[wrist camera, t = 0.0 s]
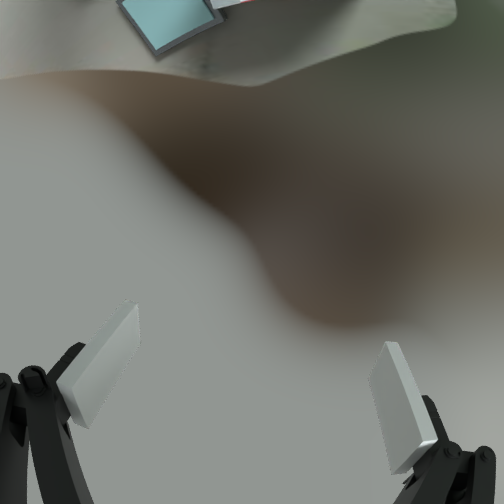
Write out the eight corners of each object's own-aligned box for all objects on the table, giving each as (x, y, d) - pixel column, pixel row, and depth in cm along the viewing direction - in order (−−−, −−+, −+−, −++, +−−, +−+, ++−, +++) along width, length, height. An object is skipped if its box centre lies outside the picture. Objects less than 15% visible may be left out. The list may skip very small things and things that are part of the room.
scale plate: (126, 1, 26) (121, 2, 25) (181, -35, 22) (177, -35, 21) (159, 47, 32) (156, 50, 32) (216, 17, 28) (213, 19, 28)
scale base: (122, -2, 26) (115, 1, 25) (187, -44, 21) (182, -43, 20) (161, 51, 34) (155, 56, 33) (228, 18, 29) (224, 21, 28)
